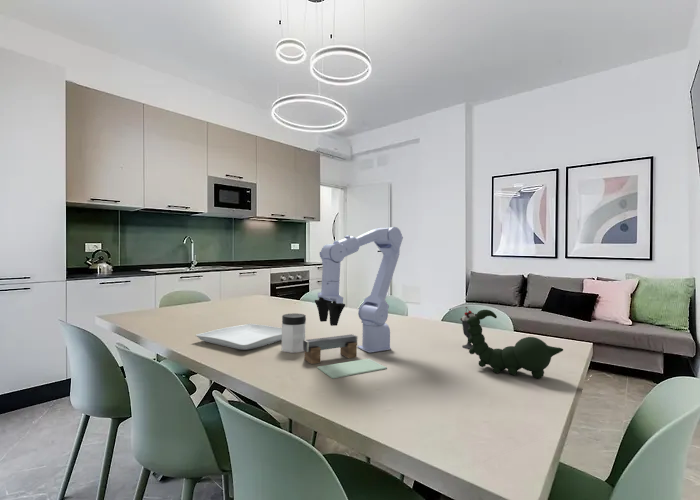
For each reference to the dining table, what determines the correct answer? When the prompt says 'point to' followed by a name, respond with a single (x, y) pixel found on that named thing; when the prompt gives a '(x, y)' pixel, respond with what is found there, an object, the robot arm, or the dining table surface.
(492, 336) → the dining table surface
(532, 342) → the toy figurine
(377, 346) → the robot arm
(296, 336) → the jar
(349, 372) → the mat
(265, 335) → the square plate
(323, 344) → the rail
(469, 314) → the sundae
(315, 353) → the post
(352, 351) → the post
